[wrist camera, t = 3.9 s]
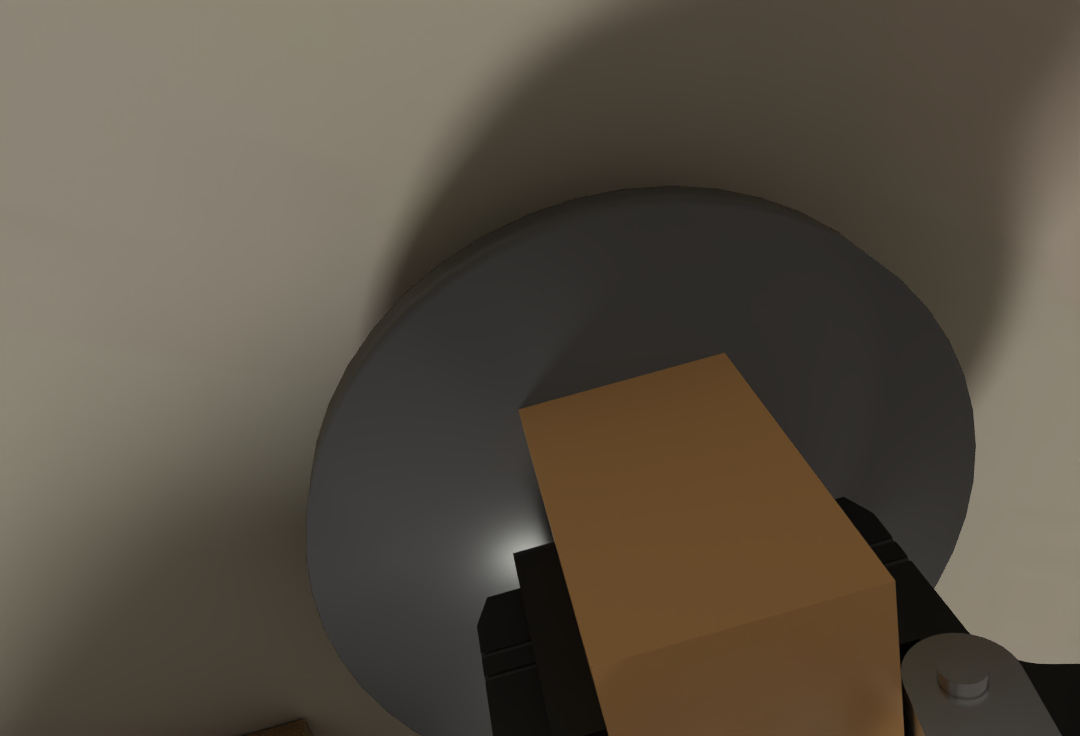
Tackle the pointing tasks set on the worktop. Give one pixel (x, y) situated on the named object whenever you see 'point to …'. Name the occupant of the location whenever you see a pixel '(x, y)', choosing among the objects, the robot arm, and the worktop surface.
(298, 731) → the gray cylinder on base
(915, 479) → the cap
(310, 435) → the worktop surface
